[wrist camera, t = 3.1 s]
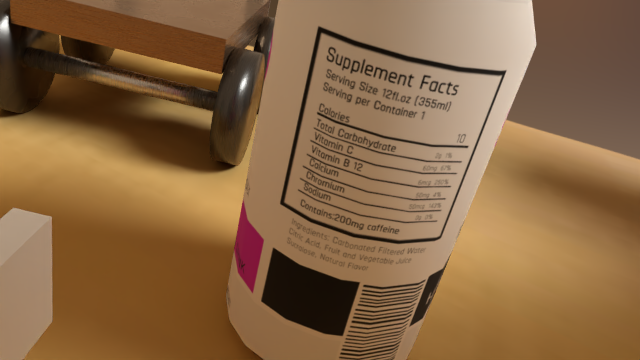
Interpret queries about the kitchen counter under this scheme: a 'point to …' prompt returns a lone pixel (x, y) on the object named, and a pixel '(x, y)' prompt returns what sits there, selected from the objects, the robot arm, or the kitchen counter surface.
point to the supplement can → (367, 168)
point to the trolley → (145, 39)
